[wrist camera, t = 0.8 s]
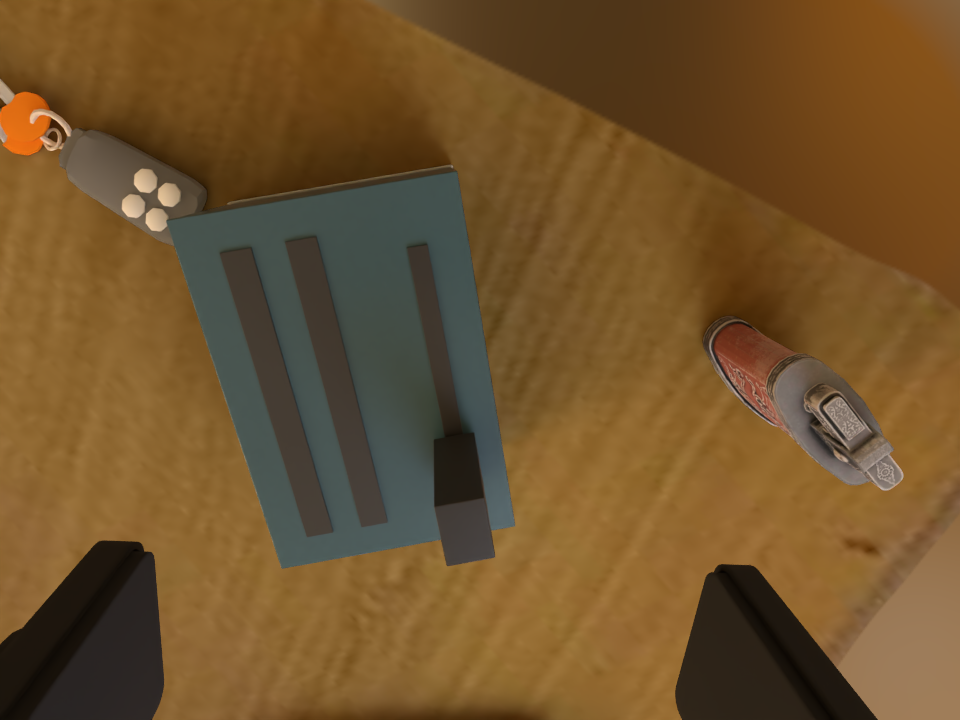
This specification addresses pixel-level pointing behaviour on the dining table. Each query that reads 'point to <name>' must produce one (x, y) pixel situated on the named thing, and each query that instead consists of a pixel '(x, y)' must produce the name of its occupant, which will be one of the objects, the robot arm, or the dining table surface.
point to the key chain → (103, 166)
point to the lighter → (802, 402)
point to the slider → (461, 500)
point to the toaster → (347, 355)
